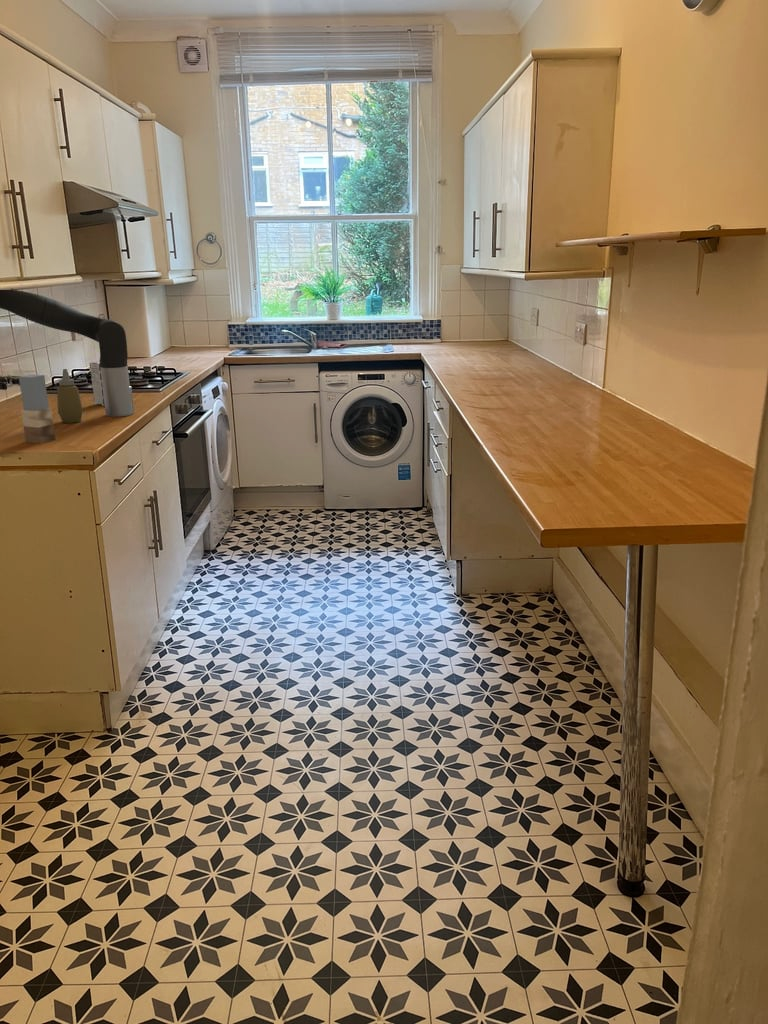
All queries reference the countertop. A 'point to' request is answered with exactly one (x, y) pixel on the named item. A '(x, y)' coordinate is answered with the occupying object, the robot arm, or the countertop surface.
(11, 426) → the countertop surface
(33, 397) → the pillar
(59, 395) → the squeeze bottle
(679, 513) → the countertop surface
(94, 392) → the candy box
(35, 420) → the tower top
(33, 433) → the tower base
